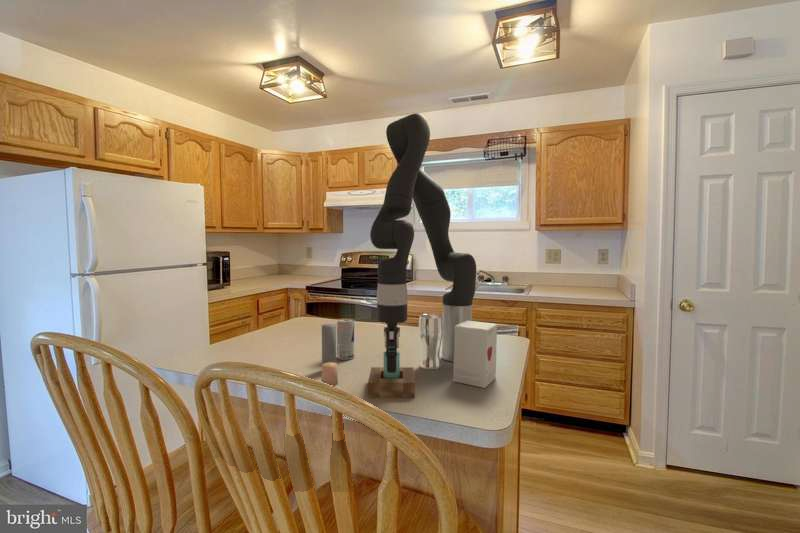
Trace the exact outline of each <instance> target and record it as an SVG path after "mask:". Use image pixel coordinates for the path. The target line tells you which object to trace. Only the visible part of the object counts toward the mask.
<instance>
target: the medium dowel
mask: <svg viewBox="0 0 800 533" xmlns="http://www.w3.org/2000/svg"><path fill="white" fill-rule="evenodd" d="M400 356H401V353H400V351H397V357H396V372H395V373H388V372H387V357H386V350H385V351H383V367H384V379H400V366H401V364H400V358H401V357H400Z"/></svg>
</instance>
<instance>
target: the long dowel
mask: <svg viewBox="0 0 800 533" xmlns="http://www.w3.org/2000/svg"><path fill="white" fill-rule="evenodd" d="M328 362H334V363H337V324H335V323H324V324H322V325H321V365H322V364H324V363H328Z"/></svg>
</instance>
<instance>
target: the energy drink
mask: <svg viewBox="0 0 800 533" xmlns="http://www.w3.org/2000/svg"><path fill="white" fill-rule="evenodd" d="M354 358H355V322H354V319H353V318H340V319H337V322H336V359H338V360H339V361H350V360H353V359H354Z"/></svg>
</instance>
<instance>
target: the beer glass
mask: <svg viewBox="0 0 800 533" xmlns="http://www.w3.org/2000/svg"><path fill="white" fill-rule="evenodd" d="M442 332H443V327H442V315H441V314H436V313H423V314H420V315H419V320H418V340H419V344H420V346H419V347H420V352H421V357H420V363H419V367H420V368H421V369H424V370H429V371H431V370H438V369H441V360H440V350H441V347H442Z"/></svg>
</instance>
